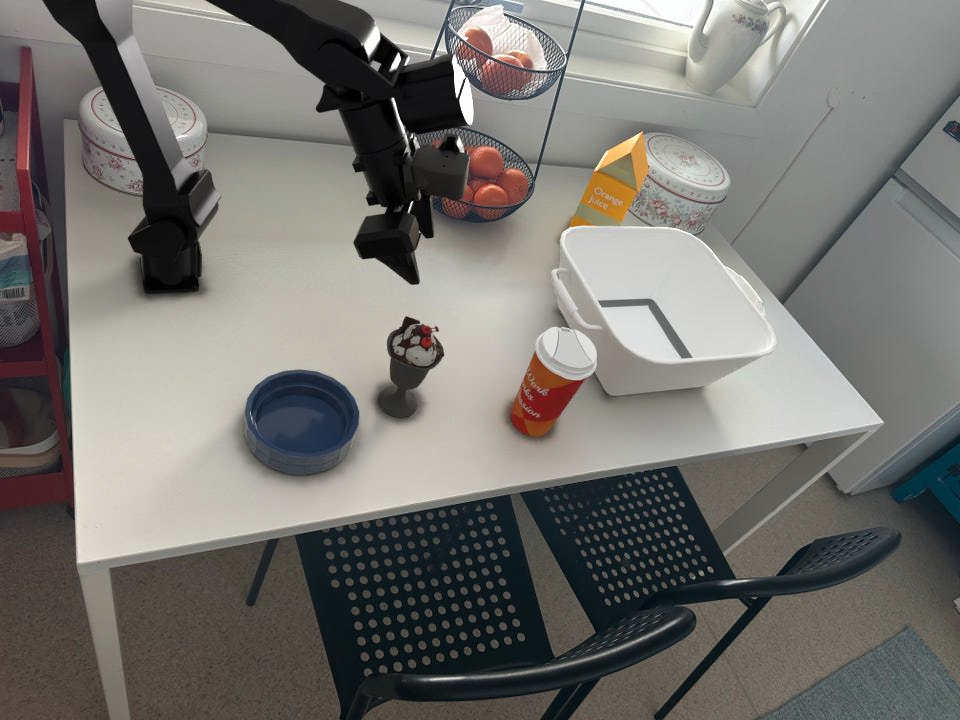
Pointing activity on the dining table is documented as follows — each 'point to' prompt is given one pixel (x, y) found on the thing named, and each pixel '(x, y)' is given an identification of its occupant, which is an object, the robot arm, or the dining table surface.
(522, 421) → the paper cup
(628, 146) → the orange juice
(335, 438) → the bowl
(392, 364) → the sundae
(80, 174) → the dining table surface
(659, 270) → the tub
